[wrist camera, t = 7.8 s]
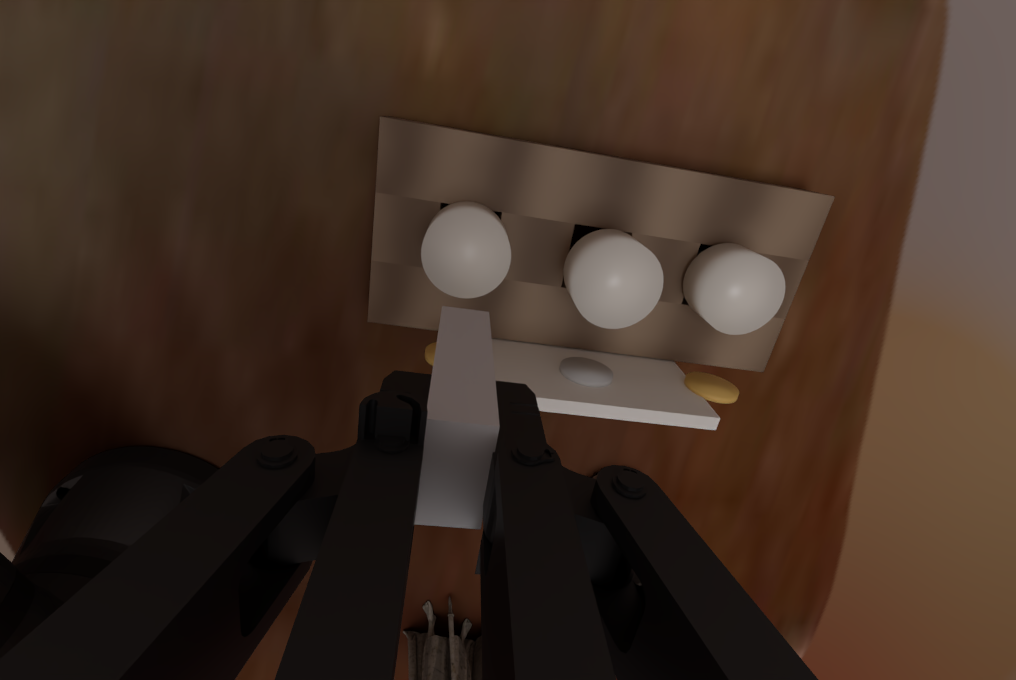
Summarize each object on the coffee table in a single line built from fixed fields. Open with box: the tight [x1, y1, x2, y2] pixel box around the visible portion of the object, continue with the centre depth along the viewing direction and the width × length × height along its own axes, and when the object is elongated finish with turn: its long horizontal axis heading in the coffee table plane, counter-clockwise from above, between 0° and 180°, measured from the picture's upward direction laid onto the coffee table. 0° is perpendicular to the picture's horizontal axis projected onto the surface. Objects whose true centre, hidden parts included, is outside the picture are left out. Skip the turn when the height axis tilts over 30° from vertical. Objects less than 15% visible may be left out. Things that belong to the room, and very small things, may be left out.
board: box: [368, 116, 835, 372], centre depth 33 cm, size 27×12×3 cm, turn 81°
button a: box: [421, 201, 511, 298], centre depth 30 cm, size 5×5×6 cm
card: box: [425, 338, 739, 430], centre depth 32 cm, size 19×1×10 cm, turn 81°
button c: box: [683, 243, 785, 335], centre depth 32 cm, size 5×5×6 cm
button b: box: [563, 229, 664, 329], centre depth 29 cm, size 5×5×6 cm
